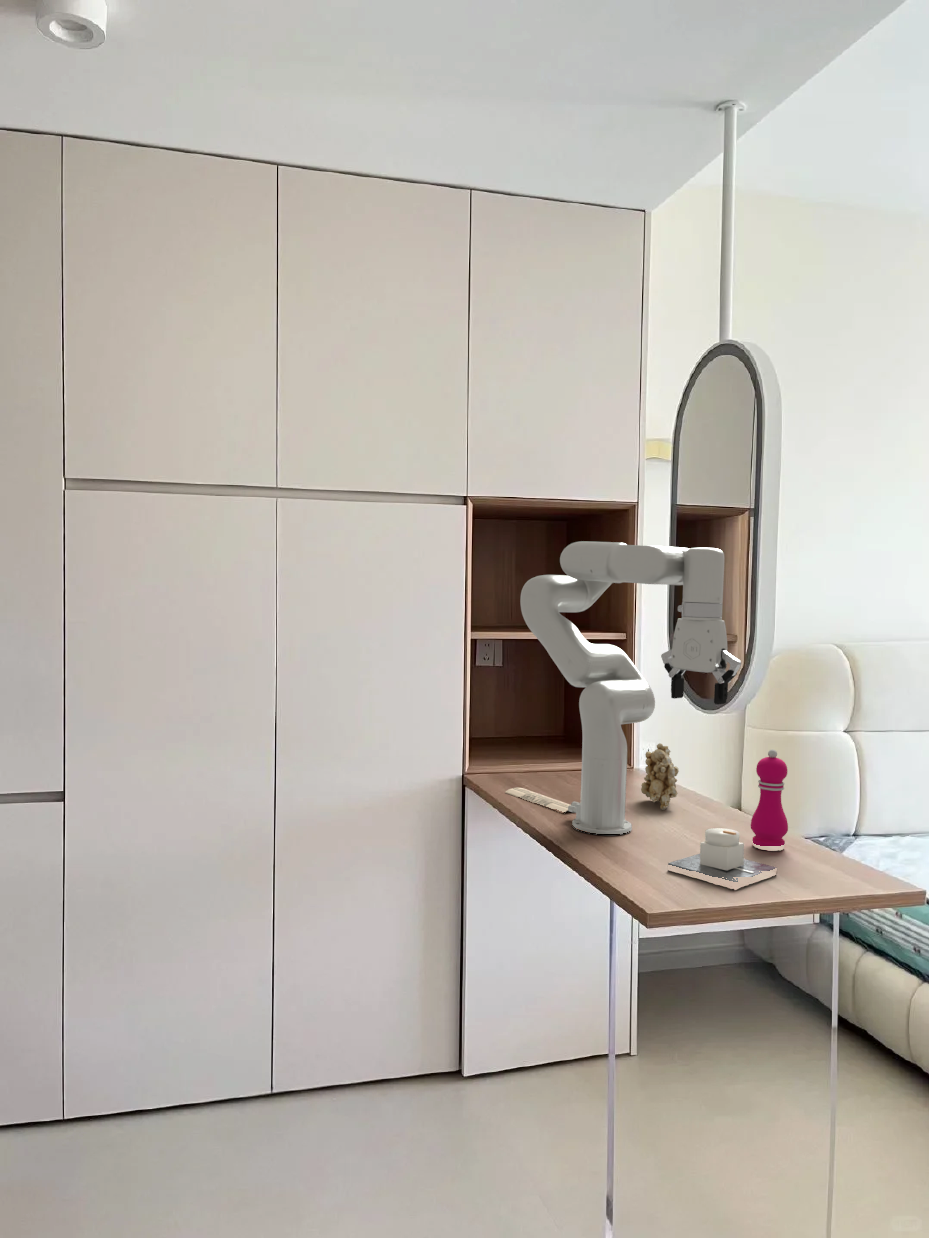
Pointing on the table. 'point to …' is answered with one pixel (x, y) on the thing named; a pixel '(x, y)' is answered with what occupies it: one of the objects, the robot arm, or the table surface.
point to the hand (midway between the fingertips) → (698, 700)
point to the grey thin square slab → (742, 871)
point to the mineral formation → (660, 776)
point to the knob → (722, 849)
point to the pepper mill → (770, 802)
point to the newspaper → (538, 799)
